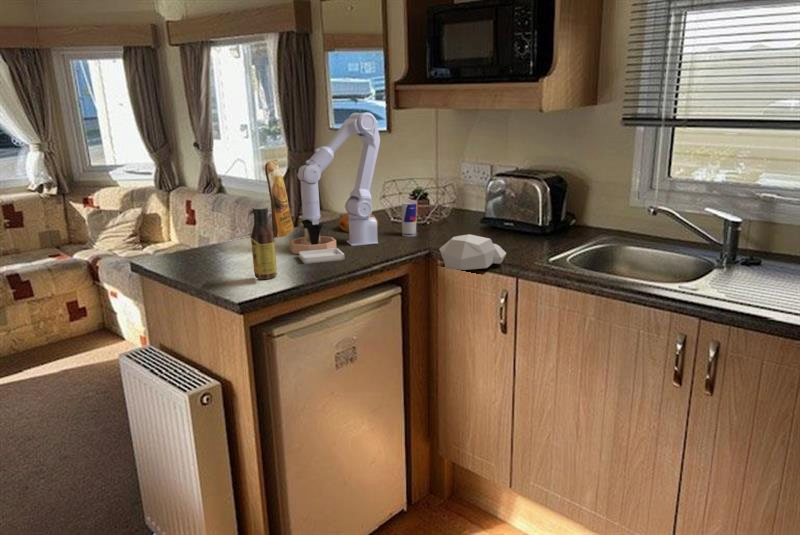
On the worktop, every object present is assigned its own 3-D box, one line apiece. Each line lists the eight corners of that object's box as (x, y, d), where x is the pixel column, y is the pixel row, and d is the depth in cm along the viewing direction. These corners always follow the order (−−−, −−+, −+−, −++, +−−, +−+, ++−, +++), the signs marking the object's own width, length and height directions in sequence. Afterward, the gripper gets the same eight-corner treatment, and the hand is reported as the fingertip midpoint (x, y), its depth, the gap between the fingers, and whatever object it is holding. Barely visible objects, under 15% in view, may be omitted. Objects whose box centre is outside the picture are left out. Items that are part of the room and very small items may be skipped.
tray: (337, 253, 195) (337, 248, 195) (344, 259, 186) (344, 254, 186) (299, 257, 191) (298, 251, 191) (304, 263, 182) (303, 258, 182)
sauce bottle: (256, 275, 171) (250, 205, 166) (278, 274, 172) (273, 204, 167) (252, 281, 165) (246, 209, 160) (275, 280, 165) (270, 208, 160)
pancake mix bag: (264, 240, 218) (258, 162, 211) (281, 230, 236) (276, 158, 229) (282, 240, 217) (276, 162, 210) (298, 230, 235) (293, 157, 228)
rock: (438, 258, 186) (438, 227, 183) (503, 257, 185) (503, 226, 183) (440, 274, 168) (440, 240, 166) (512, 272, 168) (513, 238, 165)
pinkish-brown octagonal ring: (330, 243, 211) (329, 234, 210) (339, 251, 197) (339, 242, 196) (288, 247, 206) (287, 238, 205) (295, 256, 193) (294, 247, 192)
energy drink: (415, 237, 217) (414, 204, 214) (400, 237, 218) (400, 204, 215) (418, 234, 222) (417, 202, 219) (403, 234, 223) (403, 201, 220)
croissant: (365, 226, 241) (365, 206, 239) (384, 232, 228) (383, 211, 226) (332, 230, 234) (331, 210, 232) (350, 236, 221) (349, 215, 219)
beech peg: (318, 247, 204) (317, 227, 203) (321, 250, 200) (319, 229, 199) (305, 248, 203) (304, 228, 201) (308, 251, 199) (306, 230, 197)
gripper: (294, 199, 203) (297, 239, 207) (302, 205, 190) (304, 247, 193) (315, 198, 205) (317, 237, 209) (324, 204, 192) (326, 245, 195)
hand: (312, 242), depth 201 cm, fingers open, 6 cm apart
